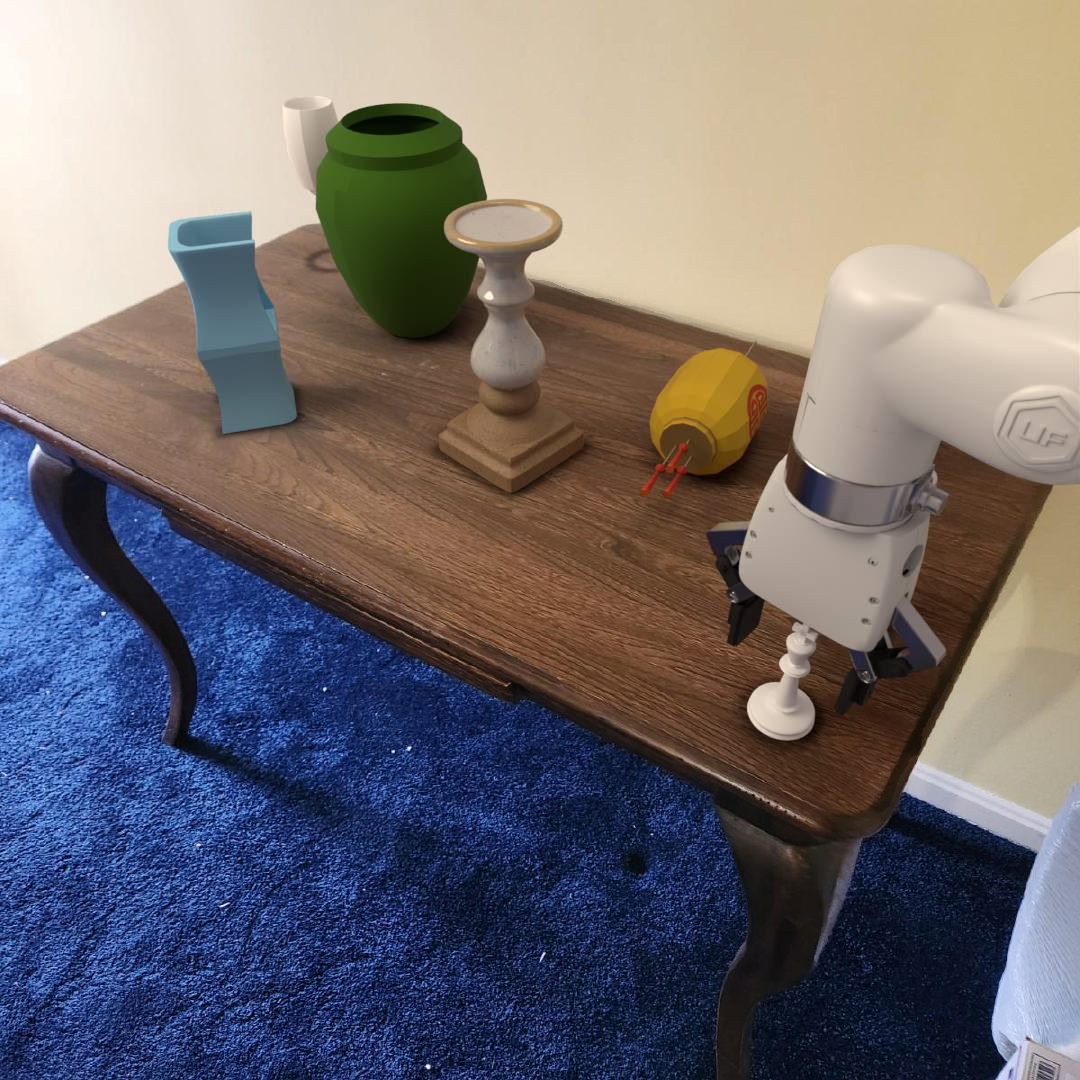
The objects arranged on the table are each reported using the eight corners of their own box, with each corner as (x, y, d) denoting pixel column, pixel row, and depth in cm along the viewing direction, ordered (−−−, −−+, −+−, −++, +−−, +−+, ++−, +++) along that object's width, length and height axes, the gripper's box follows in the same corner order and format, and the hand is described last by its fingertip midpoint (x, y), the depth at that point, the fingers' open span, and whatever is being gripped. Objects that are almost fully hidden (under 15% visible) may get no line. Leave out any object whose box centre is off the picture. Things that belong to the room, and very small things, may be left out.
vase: (331, 299, 114) (294, 100, 97) (475, 280, 118) (463, 86, 101) (346, 374, 100) (306, 157, 84) (509, 350, 104) (501, 138, 87)
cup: (366, 250, 125) (343, 95, 111) (351, 272, 120) (325, 112, 106) (318, 247, 126) (289, 93, 112) (302, 269, 121) (269, 110, 107)
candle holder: (511, 495, 83) (501, 260, 67) (437, 449, 89) (411, 221, 73) (586, 446, 89) (594, 219, 73) (512, 406, 95) (504, 186, 79)
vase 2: (298, 422, 93) (255, 242, 79) (222, 434, 91) (166, 253, 78) (292, 384, 98) (251, 210, 85) (221, 395, 97) (168, 220, 83)
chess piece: (794, 752, 62) (823, 663, 55) (734, 716, 64) (756, 626, 57) (826, 709, 64) (858, 620, 58) (767, 676, 67) (792, 586, 60)
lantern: (700, 452, 70) (797, 298, 90) (594, 443, 75) (708, 299, 95) (712, 547, 76) (801, 384, 96) (613, 534, 81) (716, 381, 100)
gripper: (1034, 509, 46) (935, 705, 58) (760, 387, 55) (722, 579, 67) (974, 580, 42) (881, 775, 54) (690, 437, 51) (663, 631, 63)
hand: (794, 666), depth 61 cm, fingers open, 8 cm apart
